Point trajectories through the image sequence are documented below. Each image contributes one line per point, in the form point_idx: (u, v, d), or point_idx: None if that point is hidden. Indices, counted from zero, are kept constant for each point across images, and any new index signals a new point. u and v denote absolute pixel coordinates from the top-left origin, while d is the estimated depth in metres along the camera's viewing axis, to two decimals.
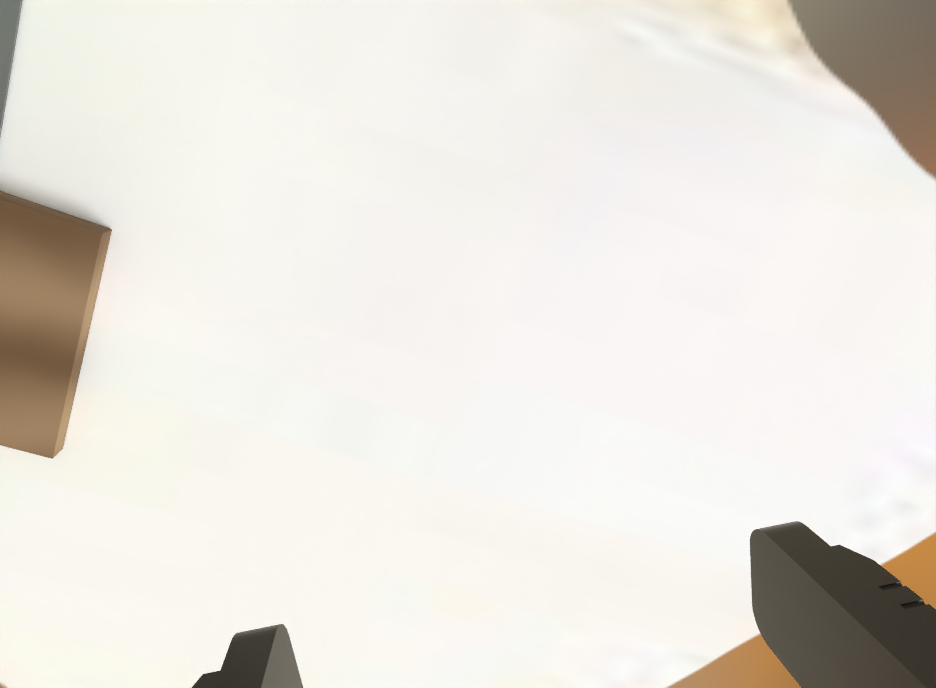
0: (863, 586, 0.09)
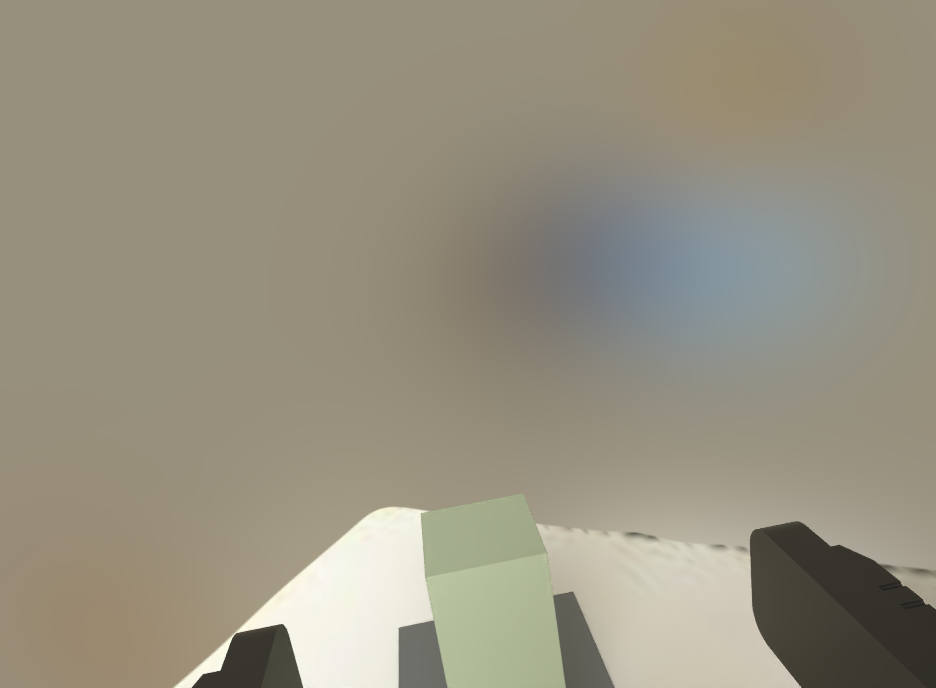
0: (863, 586, 0.09)
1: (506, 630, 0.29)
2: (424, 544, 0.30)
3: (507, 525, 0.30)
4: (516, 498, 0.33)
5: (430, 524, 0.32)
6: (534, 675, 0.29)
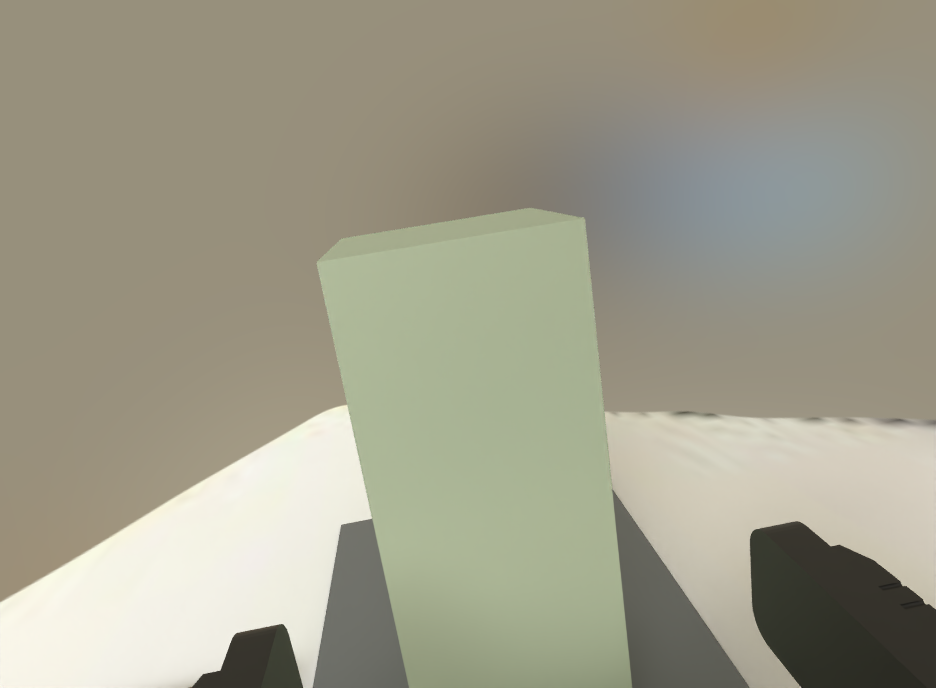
0: (863, 586, 0.09)
1: (496, 401, 0.14)
2: (333, 248, 0.15)
3: (500, 220, 0.15)
4: (518, 210, 0.18)
5: (353, 240, 0.17)
6: (553, 506, 0.14)
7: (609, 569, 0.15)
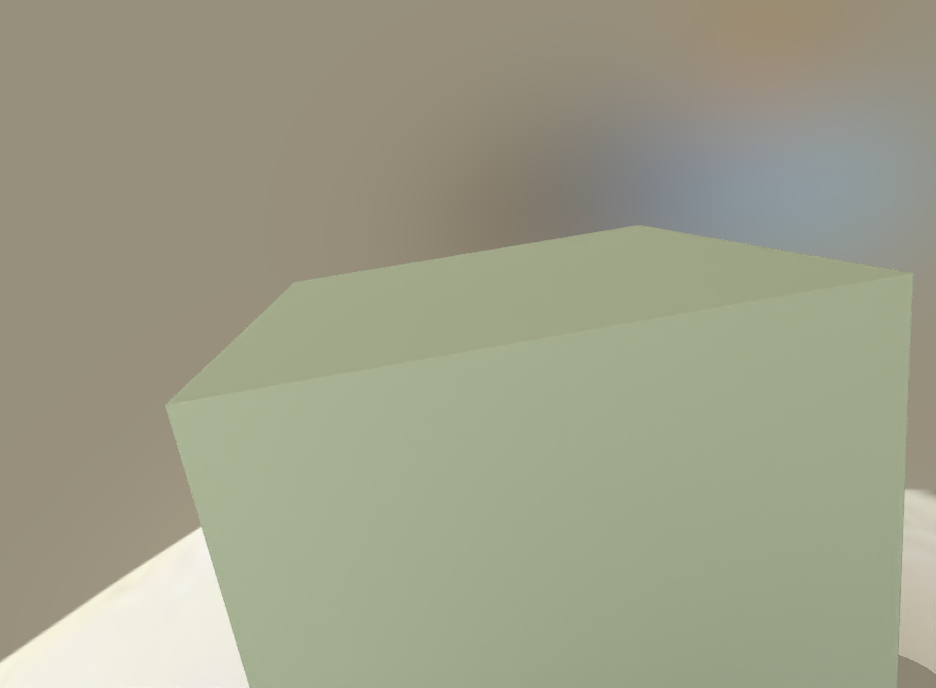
0: None
1: None
2: (257, 322, 0.07)
3: (616, 258, 0.07)
4: (620, 231, 0.10)
5: (311, 291, 0.08)
6: None
7: None
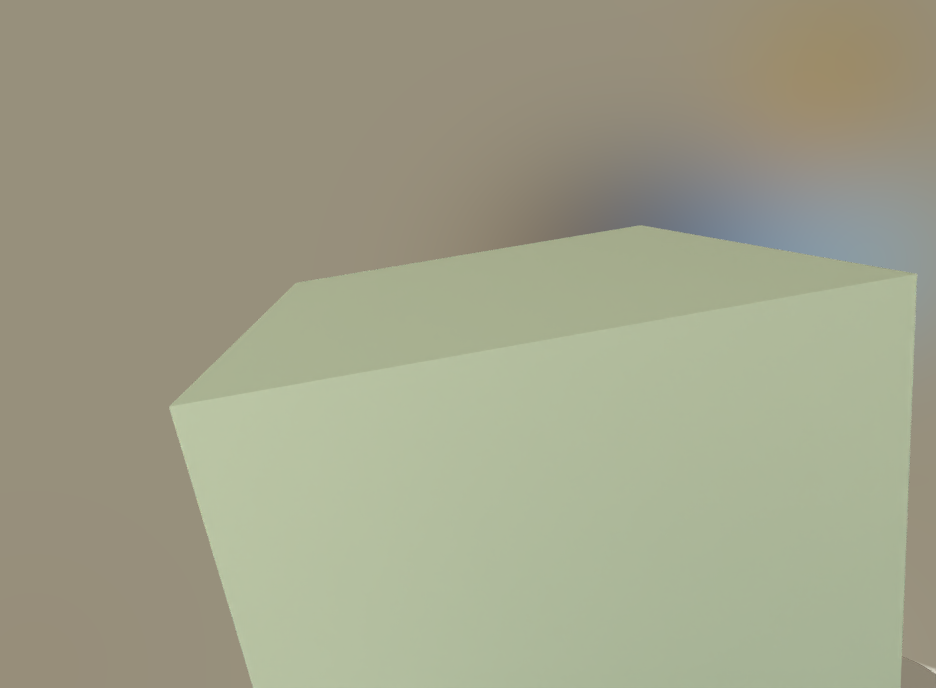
0: None
1: None
2: (259, 324, 0.07)
3: (618, 258, 0.07)
4: (622, 231, 0.10)
5: (313, 292, 0.08)
6: None
7: None
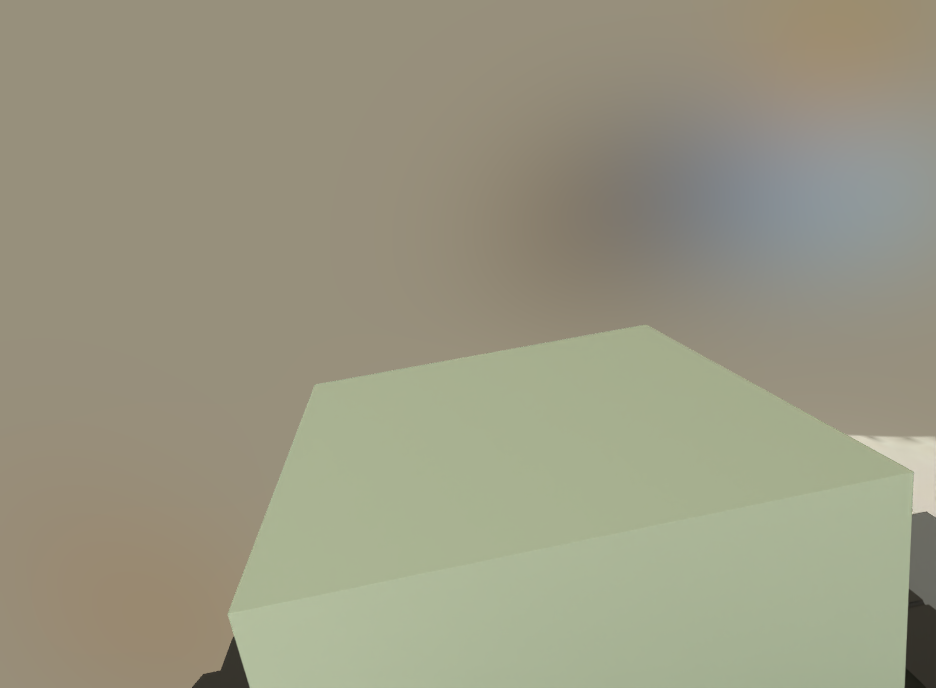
0: None
1: None
2: (290, 463, 0.07)
3: (630, 390, 0.08)
4: (628, 334, 0.10)
5: (334, 406, 0.09)
6: None
7: None
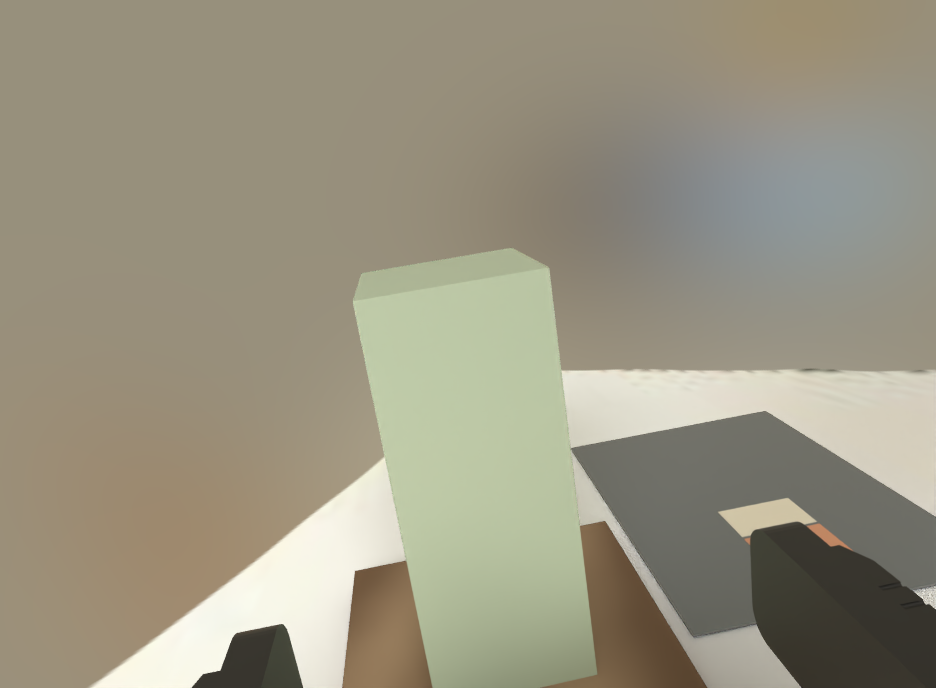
0: (863, 586, 0.09)
1: (485, 401, 0.18)
2: (359, 286, 0.19)
3: (487, 262, 0.20)
4: (501, 250, 0.22)
5: (372, 276, 0.21)
6: (528, 481, 0.19)
7: (571, 529, 0.20)
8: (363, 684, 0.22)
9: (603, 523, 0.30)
